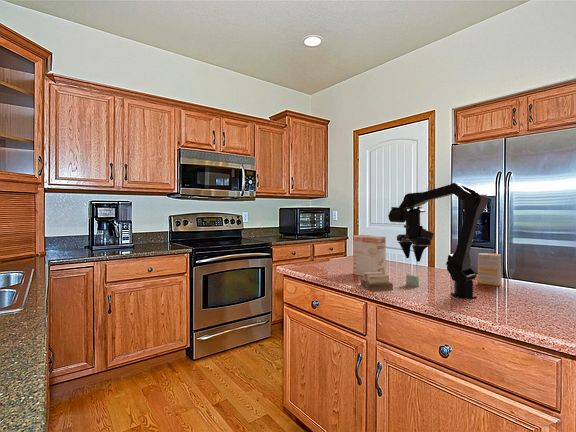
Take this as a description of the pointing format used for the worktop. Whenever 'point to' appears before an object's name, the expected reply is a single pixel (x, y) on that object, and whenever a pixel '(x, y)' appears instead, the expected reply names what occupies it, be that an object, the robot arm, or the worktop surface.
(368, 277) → the top block
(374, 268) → the coffeecake box
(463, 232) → the robot arm
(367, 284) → the base slab
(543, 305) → the worktop surface
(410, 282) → the green rounded lump
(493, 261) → the supplement box
